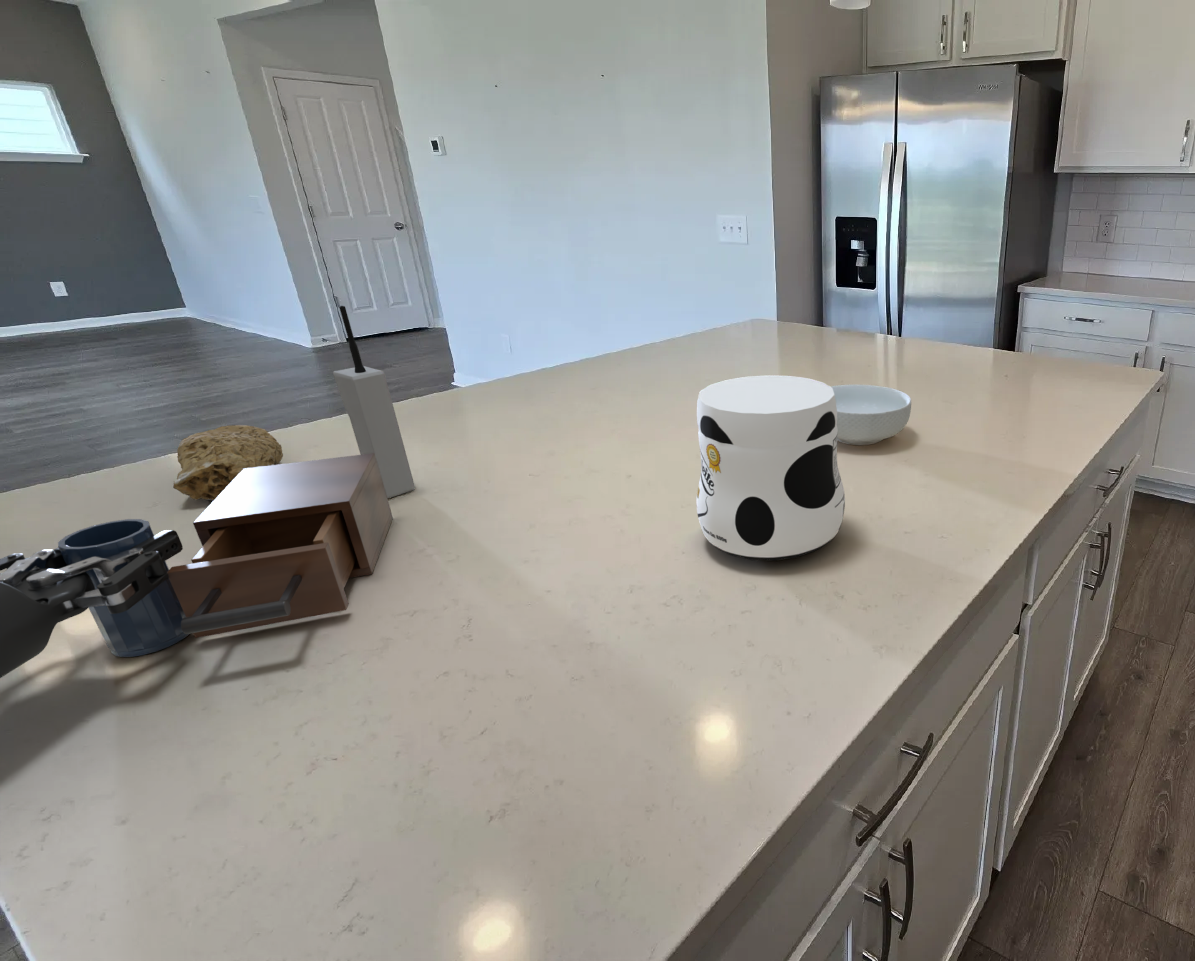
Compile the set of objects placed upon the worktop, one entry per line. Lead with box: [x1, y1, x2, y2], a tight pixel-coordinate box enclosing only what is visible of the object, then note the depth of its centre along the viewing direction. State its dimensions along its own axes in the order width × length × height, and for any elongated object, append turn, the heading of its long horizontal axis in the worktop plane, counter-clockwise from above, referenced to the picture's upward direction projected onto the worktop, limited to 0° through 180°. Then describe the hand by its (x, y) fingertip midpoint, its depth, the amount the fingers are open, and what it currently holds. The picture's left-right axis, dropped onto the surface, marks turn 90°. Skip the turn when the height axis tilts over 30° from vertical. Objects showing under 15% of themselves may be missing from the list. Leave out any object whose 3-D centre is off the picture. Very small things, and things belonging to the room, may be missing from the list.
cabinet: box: [192, 453, 394, 579], centre depth 78 cm, size 15×13×9 cm
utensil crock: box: [57, 518, 190, 658], centre depth 63 cm, size 6×6×11 cm
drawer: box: [167, 510, 357, 639], centre depth 67 cm, size 20×12×7 cm, turn 24°
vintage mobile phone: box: [332, 305, 416, 499], centre depth 90 cm, size 4×5×25 cm
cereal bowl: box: [829, 383, 912, 446], centre depth 115 cm, size 17×17×7 cm
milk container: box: [696, 374, 846, 562], centre depth 81 cm, size 17×17×18 cm
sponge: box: [173, 424, 284, 501], centre depth 97 cm, size 13×8×20 cm
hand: (138, 540), depth 63 cm, fingers closed on utensil crock, 5 cm apart
